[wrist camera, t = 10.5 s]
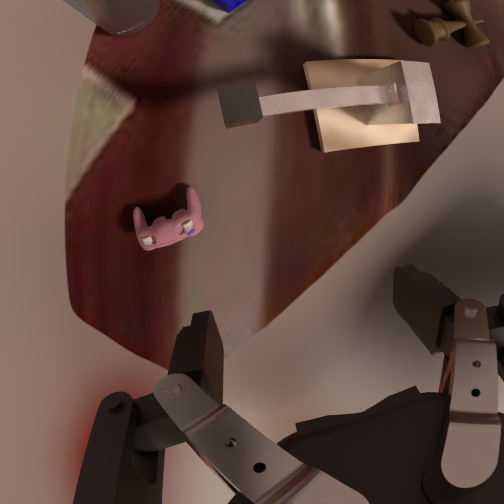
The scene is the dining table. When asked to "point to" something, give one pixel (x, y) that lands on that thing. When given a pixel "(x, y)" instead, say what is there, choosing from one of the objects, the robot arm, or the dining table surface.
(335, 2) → the dining table surface
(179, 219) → the video game controller
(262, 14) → the dining table surface
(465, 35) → the kendama
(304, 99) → the shaft
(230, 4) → the cable clip
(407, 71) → the stand
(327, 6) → the dining table surface
